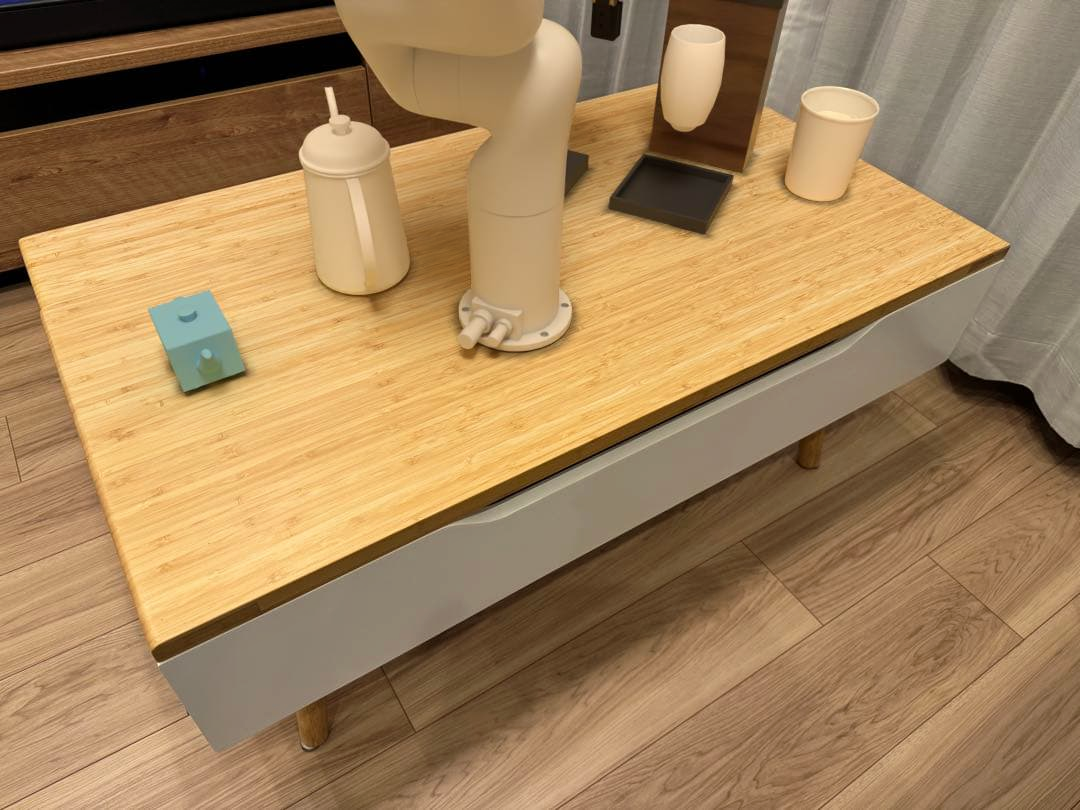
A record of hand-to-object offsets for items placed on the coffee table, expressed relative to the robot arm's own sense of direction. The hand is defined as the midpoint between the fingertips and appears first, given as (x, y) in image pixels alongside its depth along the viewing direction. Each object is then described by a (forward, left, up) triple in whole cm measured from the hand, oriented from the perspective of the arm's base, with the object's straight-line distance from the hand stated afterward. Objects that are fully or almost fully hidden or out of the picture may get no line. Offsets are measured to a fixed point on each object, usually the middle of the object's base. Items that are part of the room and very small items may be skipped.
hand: (605, 36), depth 93 cm
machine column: (+16, -11, -20) cm, 28 cm away
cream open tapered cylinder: (+14, -28, -20) cm, 37 cm away
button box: (-2, +7, -20) cm, 21 cm away
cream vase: (+2, -11, -19) cm, 22 cm away
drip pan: (+2, -11, -20) cm, 23 cm away
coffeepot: (-30, +17, -20) cm, 40 cm away
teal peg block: (-52, +21, -20) cm, 60 cm away
